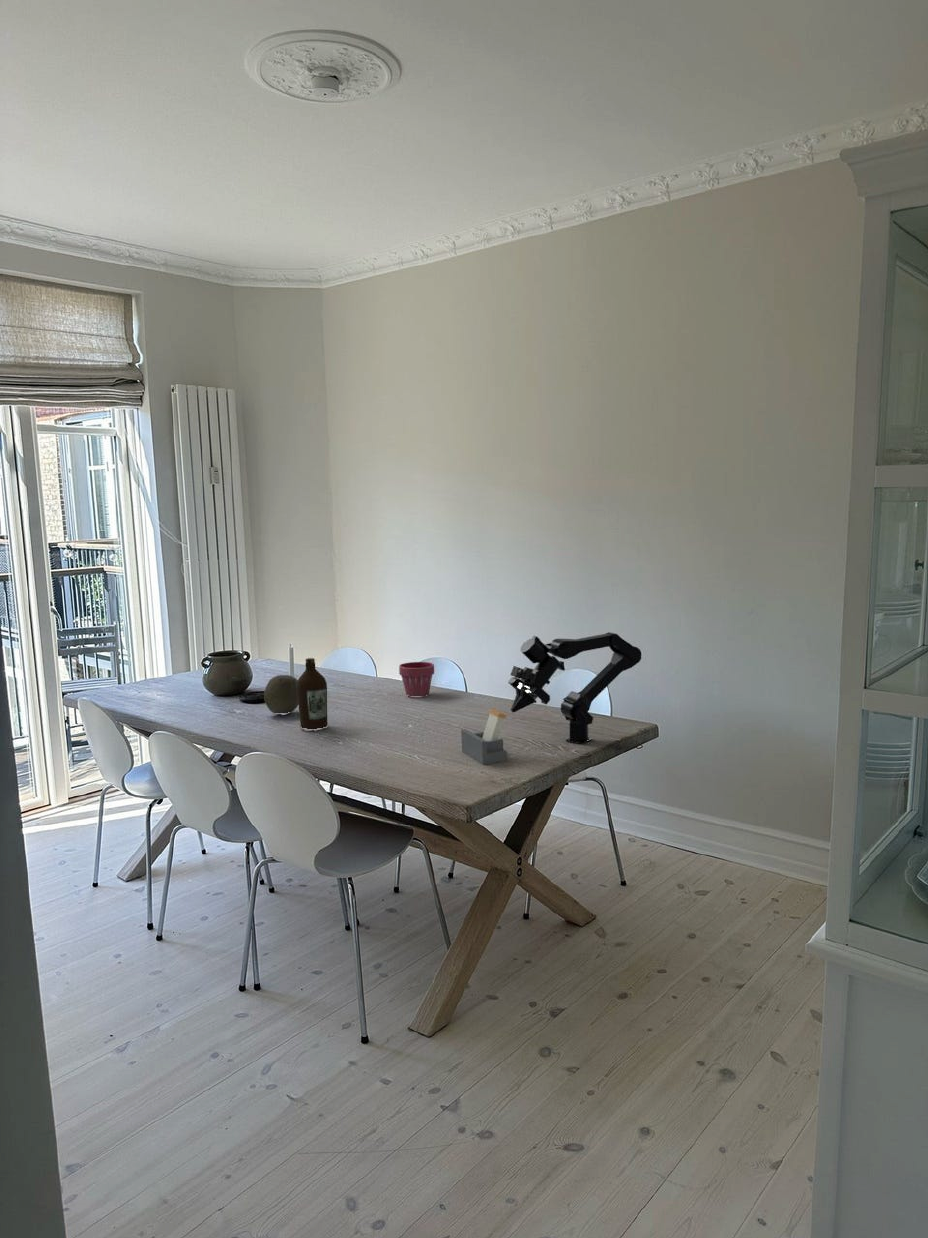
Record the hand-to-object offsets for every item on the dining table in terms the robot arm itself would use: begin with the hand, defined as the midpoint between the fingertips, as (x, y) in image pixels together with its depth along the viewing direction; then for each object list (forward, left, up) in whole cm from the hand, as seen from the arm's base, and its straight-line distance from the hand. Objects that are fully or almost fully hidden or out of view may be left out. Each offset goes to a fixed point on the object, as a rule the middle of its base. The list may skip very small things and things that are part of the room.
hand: (512, 711), depth 269 cm
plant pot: (-46, -78, -13) cm, 92 cm away
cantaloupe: (+3, -103, -13) cm, 104 cm away
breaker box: (+9, -5, -13) cm, 16 cm away
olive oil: (+12, -77, -13) cm, 79 cm away
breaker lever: (+7, -4, -9) cm, 13 cm away
